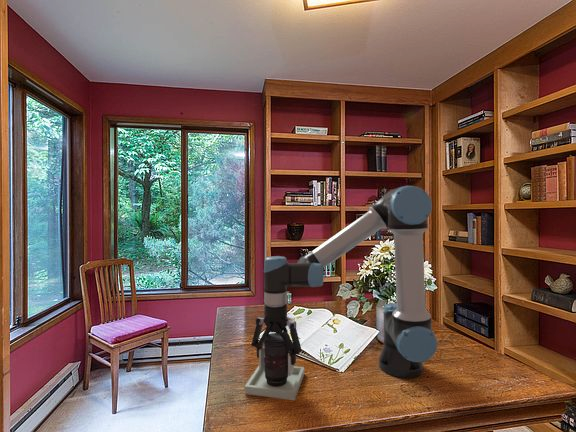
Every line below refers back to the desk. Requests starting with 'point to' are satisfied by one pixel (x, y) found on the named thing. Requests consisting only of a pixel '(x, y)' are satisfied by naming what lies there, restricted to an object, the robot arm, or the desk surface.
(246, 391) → the tray
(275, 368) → the camera lens
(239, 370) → the desk surface
